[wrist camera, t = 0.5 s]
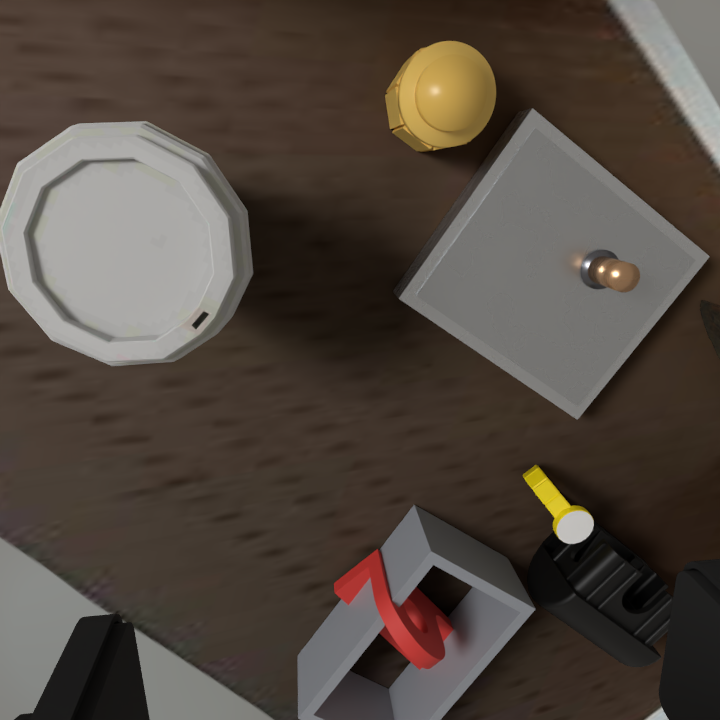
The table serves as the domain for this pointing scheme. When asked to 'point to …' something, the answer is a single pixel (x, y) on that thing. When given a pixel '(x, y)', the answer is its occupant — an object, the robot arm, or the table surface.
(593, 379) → the plate
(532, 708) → the table surface
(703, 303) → the dark brown wood branch
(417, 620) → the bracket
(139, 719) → the robot arm
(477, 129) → the wire nut
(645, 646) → the end cap
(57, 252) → the disposable coffee cup
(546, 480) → the watch
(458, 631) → the parts corral
